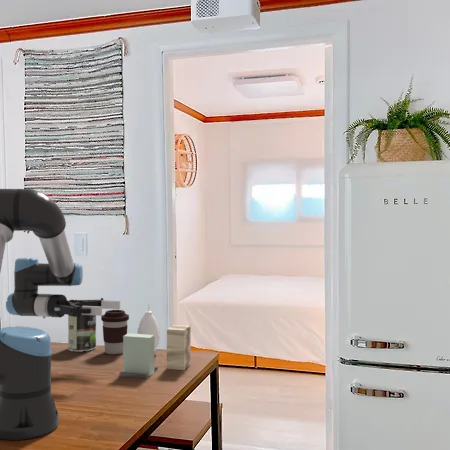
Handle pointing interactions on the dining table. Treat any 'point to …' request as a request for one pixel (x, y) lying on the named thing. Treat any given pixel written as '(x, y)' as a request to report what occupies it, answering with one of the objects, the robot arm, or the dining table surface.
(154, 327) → the sauce bottle
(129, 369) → the pale green block
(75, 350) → the can
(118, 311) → the travel mug
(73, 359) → the dining table surface
